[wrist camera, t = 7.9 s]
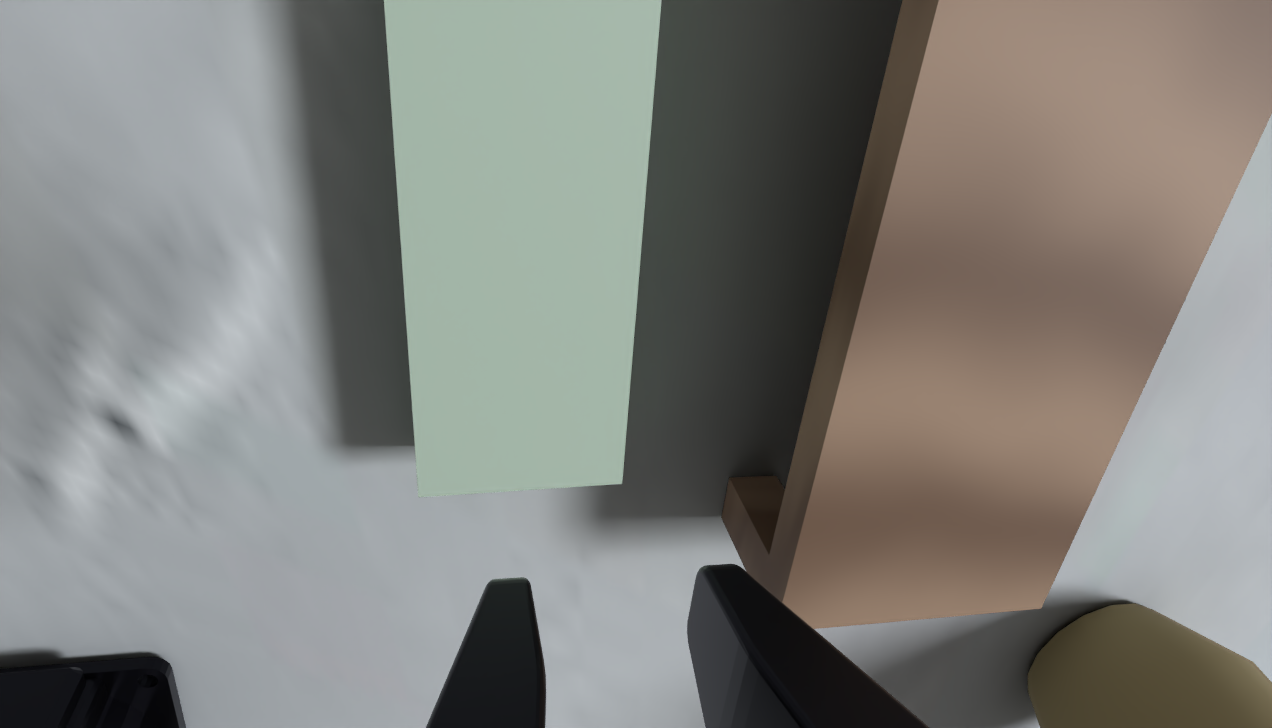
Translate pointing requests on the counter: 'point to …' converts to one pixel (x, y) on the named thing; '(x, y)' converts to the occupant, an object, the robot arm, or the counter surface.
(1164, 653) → the squeeze bottle
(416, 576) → the counter surface
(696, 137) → the counter surface
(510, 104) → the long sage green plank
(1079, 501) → the bench
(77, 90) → the counter surface
